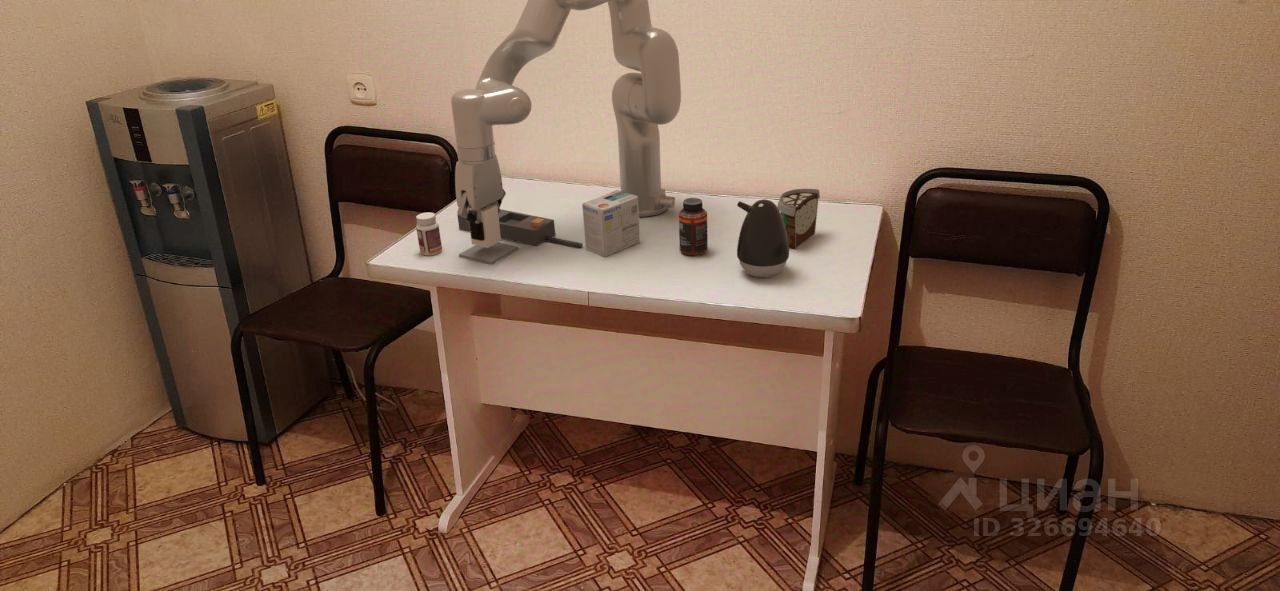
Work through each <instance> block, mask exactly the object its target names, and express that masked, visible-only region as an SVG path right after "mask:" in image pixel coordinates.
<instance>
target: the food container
mask: <svg viewBox="0 0 1280 591" xmlns="http://www.w3.org/2000/svg"><path fill="white" fill-rule="evenodd" d="M820 196H821V195H820V189H817V188H797V189H795V188H794V189H790V190H788V191H785V192H783V193H782V194H781V195H780V196H779V199H778V202H777V205H776V206H777V208H778V209H779V211H780V213H781V215H782V218H783V221H784V224H785V227H786V231H787V236H788V243H789V249H792V250H797V249H799V248H800V247H801V246H802V245H804V244H805V243H806V242H808V241H809V240H810V239H811V238H812V237H814V236H816V229H817V228H816V226H817V216H818V206H819V199H820Z"/></svg>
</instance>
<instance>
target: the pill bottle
mask: <svg viewBox="0 0 1280 591" xmlns="http://www.w3.org/2000/svg"><path fill="white" fill-rule="evenodd" d="M415 218H416V225H415V226H416V227H415V229H416V235H417V239H418V240H417V241H418V247H419V253H420V254H421V255H423V256H430V257H431V256H435V255H439V254H440V253H441V252H442V251H443V245H442V239H441V238H442V237H441V233H440V231H441V230H440V225H439V223H438V222H437V217H436V214H435V213H434V212H421V213H419V214H418V215H416V216H415Z"/></svg>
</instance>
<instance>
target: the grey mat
mask: <svg viewBox="0 0 1280 591" xmlns="http://www.w3.org/2000/svg"><path fill="white" fill-rule="evenodd" d="M518 250H519V246H517V245H514V244H509V243H504V242H501V241H499V242H498V243H496V244H494V245H492V246H490V247H488V248H487V247H482V246H478V245H473V246H471V247H469V248H468V249H466V250H464V251H462V252H461V253H459V254H458V257H459V258H461V259H466V260H471V261H475V262H479V263H483V264H488V265H494V264H496V263H497V262H499V261H501V260H503V259H504V258H506V257H507V256H509V255H511V254H513V253H515V252H516V251H518Z"/></svg>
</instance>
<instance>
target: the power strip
mask: <svg viewBox="0 0 1280 591" xmlns="http://www.w3.org/2000/svg"><path fill="white" fill-rule="evenodd" d="M456 216H457V222H458V229H459V230H460V231H465V232H470V225H469V222H467V220H466V219H465V218H464V217H462V216H459V215H458V214H457V215H456ZM498 216H499V225H500V235H501V240H502V239H503V240H507V241H512V242H515V243H516V242H517V243H521V244H524V245H530V246H535V247H537V246H539V245H540V244H543V243H544V242H545V241H548V242H552V243H556V244H561V245H566V246H570V247H575V248H580V249H582V248H583V246H584V244H583V243H582V242H577V241H572V240H568V239H563V238H557V237H554V236H555V235H556V230H555V229H556V228H555V227H556V226H555V220H554V219H551V218H547V217H541V216H537V215H532V214H526V213H521V212H516V211H512V210H506V209H502V208H500V213H499V214H498Z"/></svg>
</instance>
